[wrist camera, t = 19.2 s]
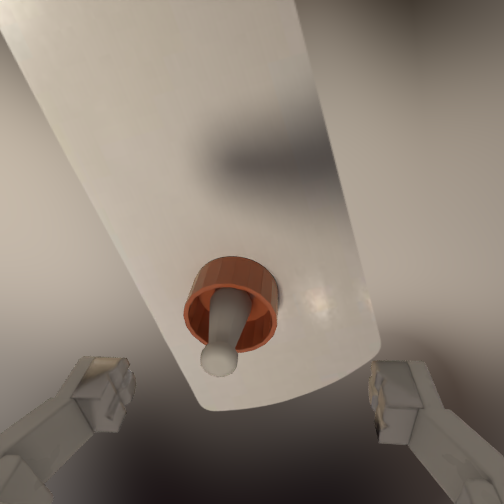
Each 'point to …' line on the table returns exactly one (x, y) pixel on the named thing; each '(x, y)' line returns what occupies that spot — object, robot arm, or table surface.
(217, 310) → the grey rounded piece
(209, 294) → the pot
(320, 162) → the table surface
